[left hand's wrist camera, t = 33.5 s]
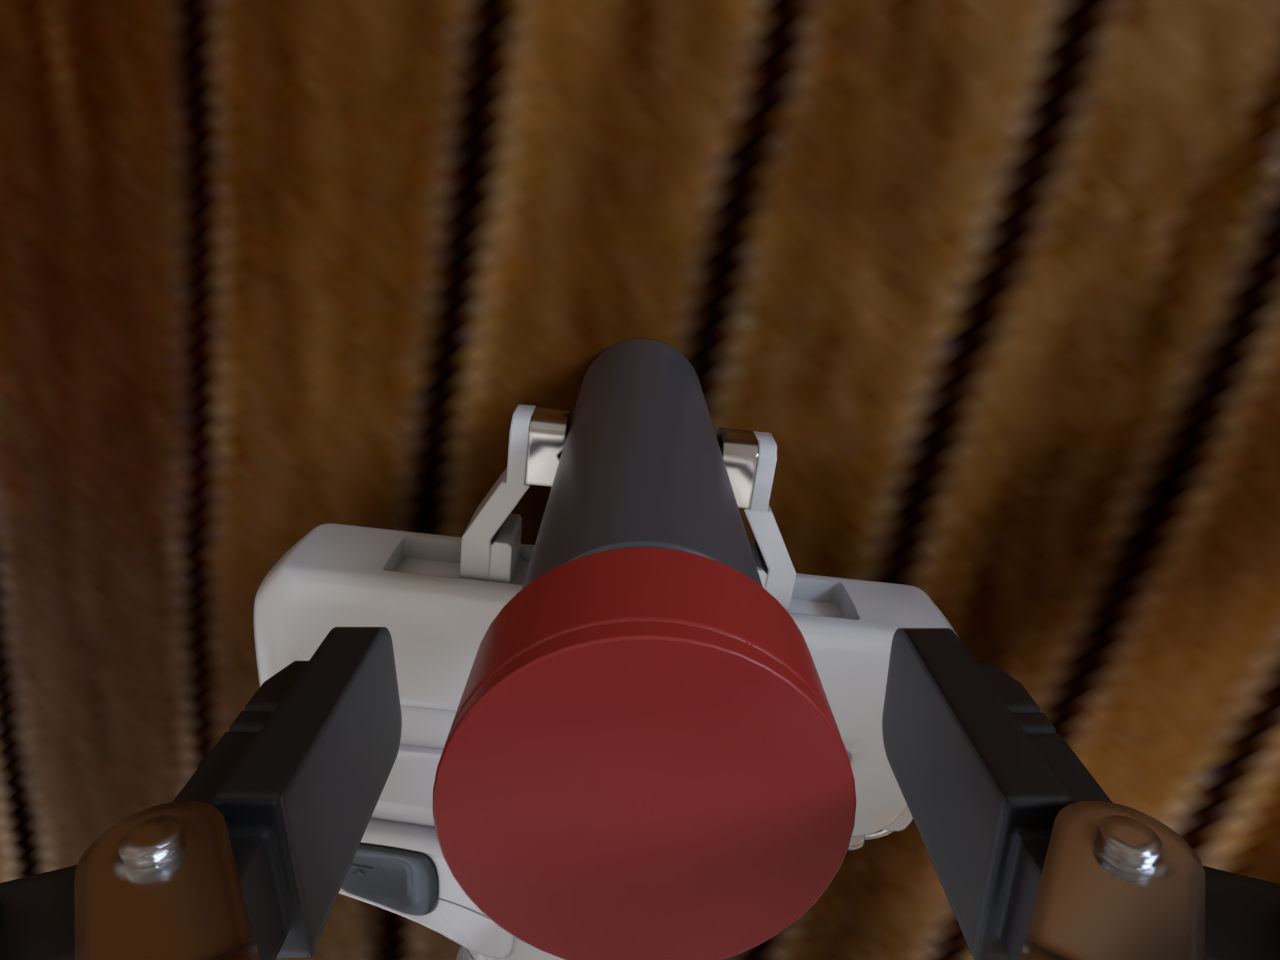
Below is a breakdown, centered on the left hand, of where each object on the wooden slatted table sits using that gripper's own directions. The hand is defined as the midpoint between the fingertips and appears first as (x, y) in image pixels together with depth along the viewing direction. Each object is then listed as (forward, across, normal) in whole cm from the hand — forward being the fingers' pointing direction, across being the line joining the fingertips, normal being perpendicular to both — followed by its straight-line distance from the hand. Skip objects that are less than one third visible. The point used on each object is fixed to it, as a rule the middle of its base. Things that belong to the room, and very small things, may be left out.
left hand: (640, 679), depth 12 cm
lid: (-2, 0, 0) cm, 2 cm away
